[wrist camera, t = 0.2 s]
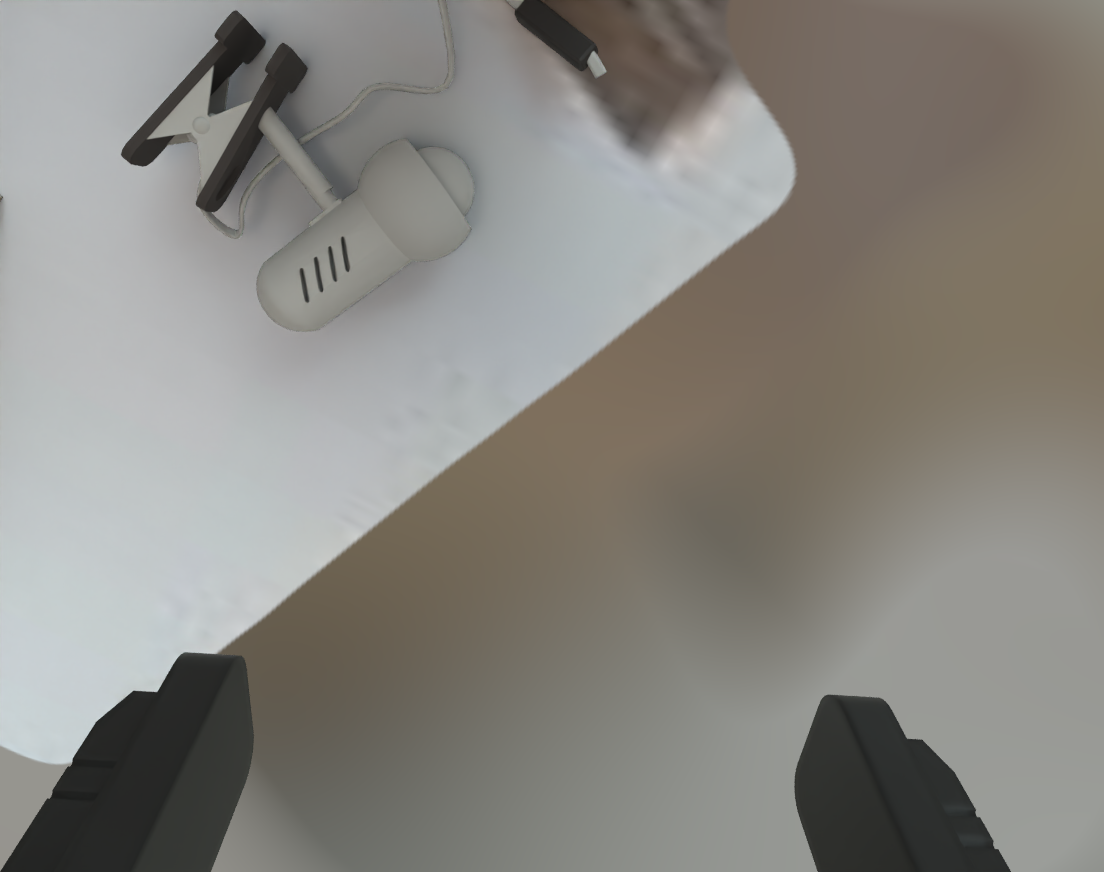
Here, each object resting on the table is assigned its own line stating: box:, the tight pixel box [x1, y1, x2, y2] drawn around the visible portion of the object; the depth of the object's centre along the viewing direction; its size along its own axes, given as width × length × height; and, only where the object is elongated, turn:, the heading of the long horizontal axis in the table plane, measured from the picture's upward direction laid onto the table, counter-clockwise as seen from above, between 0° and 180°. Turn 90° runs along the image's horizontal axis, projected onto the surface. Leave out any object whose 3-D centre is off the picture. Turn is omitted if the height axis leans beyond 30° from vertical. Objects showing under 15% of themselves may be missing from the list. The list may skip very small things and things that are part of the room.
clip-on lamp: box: [121, 0, 607, 332], centre depth 32 cm, size 12×6×18 cm
